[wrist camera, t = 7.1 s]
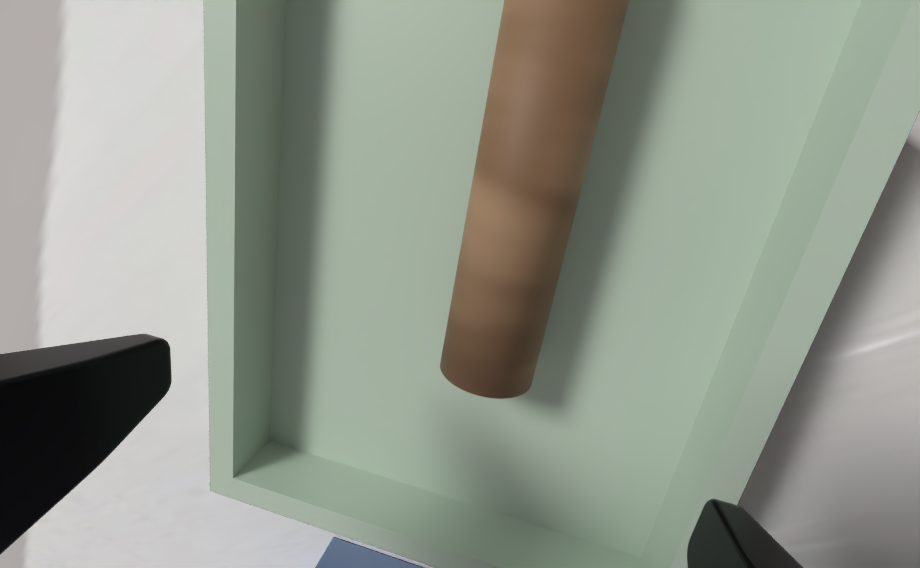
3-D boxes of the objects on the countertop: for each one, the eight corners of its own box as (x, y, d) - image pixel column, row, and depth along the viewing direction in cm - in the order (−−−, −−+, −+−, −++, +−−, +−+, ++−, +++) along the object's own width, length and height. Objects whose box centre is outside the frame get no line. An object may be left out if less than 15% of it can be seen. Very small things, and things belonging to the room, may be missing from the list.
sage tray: (1072, -430, 8) (1276, -659, 6) (657, 569, 15) (670, 647, 13) (283, -426, 10) (195, -590, 8) (258, 442, 18) (209, 490, 15)
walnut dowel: (488, 271, 17) (624, -103, 10) (535, 417, 12) (815, -56, 6) (418, 266, 16) (517, -139, 9) (443, 419, 12) (649, -113, 5)
